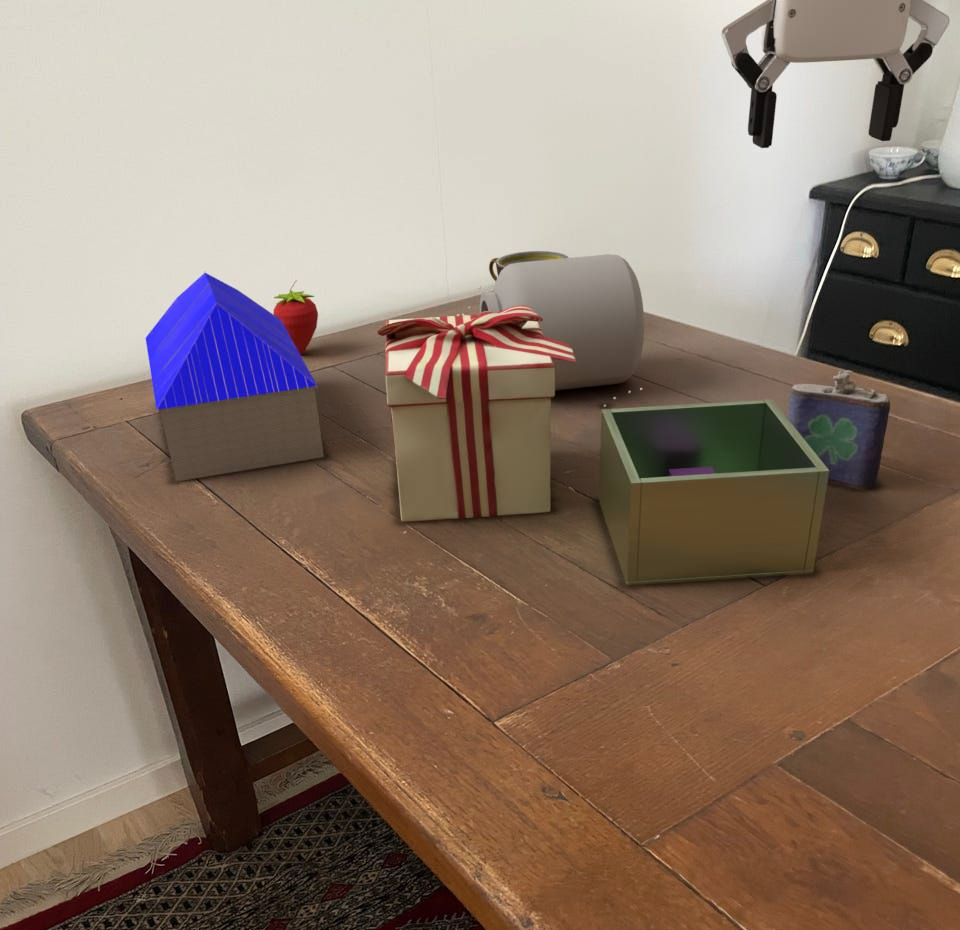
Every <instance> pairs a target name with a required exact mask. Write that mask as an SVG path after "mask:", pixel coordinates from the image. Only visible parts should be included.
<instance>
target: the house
mask: <svg viewBox="0 0 960 930" xmlns="http://www.w3.org/2000/svg"><path fill="white" fill-rule="evenodd" d="M273 314H274V313H272V312H270V311H269V310H268V309H266V308H264V307H263V306H262V305H260V304H259V303H257V302H256V301H254V300H253V299H252V298H250V297H249V296H247V295H246V294H244V293H243V292H242V291H240V290H239V289H237V288H235V287H233V286H231V285H229V284H228V283H226V282H224V281H221V279H218V278H216V277H214V276H212V275H210V274H208V273H207V272H204V273H202V274H201V276H199V277H198V278H197V279H196V280H194V282H193V283H192V284H190V285H189V286H188V287H187V288H186V289H185V290H184V291H183V292H182V293H180V294H179V295H177V297H176V298H175V299H174V300H173V302H172V303H171V304H170V306H169V307H168V308H167V310H166V311H165V312H164V313H163V315H162V316H161V317H160V318H159V320H158V321H157V322H156V323H155V325H154V326H153V328H151V330H150V332H149V333H148V334H147V335H146V337H145V344H146V351H147V356H148V363H149V369H150V378H151V383H152V390H153V397H154V402H155V408H156V413H157V414H159V412H160V416H161V421H162V426H163V430H164V434H165V439H166V443H167V448H168V452H169V456H170V460H171V461H170V462H171V465H172V470H173V474H174V479H175V482H182V481H188V480H194V479H195V480H196V479H201V478H207V477H212V476H218V475H223V474H230V473H237V472H243V471H248V470H253V469H254V470H255V469H259V468H266V467H267V468H268V467H272V466H279V465H284V464H290V463H295V462H302V461H308V460H314V459H321V458H325V454H324V448H323V441H322V433H321V426H320V420H319V412H318V405H317V404H318V403H317V397H316V391H315V390H318V384H317V383H316V381H315V379H314V377H313V375H312V373H311V372H310V370H309V368H308V366H307V365H306V363H305V361H304V359H303V358H302V357H303V356H302V355H300V354H299V352H298V350H297V348H296V346H295V345H294V343H293V341H292V339H291V337H290V335H289V334H288V332H287V330H286V328H285V326H284V325H283V323H282V321H281V320H280V319H279V318H278V317H276V316H275V315H273Z"/></svg>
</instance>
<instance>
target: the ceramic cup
mask: <svg viewBox="0 0 960 930" xmlns="http://www.w3.org/2000/svg"><path fill="white" fill-rule="evenodd" d="M563 258H571V257H570V256H569V255H567V254H564V253H561V252H555V251H547V250H529V251H519V252H512V253H508V254H505V255H502V256H500V257H494V258H492V259H491V260H490V261H489V265H488V271H489V274H490V276H491V278H492V279H493V281H494V282H496V280H497V278H498V276H499V274H500V272H501V270H503V269H504V268H505V267H506V266H507V265H509V264H513V263H519V262H530V261H541V260H552V259H563ZM494 265H495V267H496V273H497V275H496V273H495V271H494Z"/></svg>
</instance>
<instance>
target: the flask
mask: <svg viewBox="0 0 960 930" xmlns="http://www.w3.org/2000/svg"><path fill="white" fill-rule="evenodd" d="M851 374H853V371H852V370H843V371H841V370H839V371H838V374H837V375H833V377H832V378H833V381H834V384H835V385H834V386H831V385H830V386H829V385H822V384H814V383H797V384H795V385H793V386H792V387H791V388H790V391H789V403H788V412H787V416H786V417H787V419H788V420H789V421H790V422H791V424H792V425H793V426H794V427H795V428H796V430H797V431H798V432H799V433H800V435H801V436H802V437H803V438H804V440H805V441H806V442H807V443H808V445H809V446H810V447H811V448H812V450H813V451H814V452H815V453H816V455H817V456H818V457H819V458H820V460H821V461H822V462H823V463H824V465H825V466H826V467H827V468H828V470H829V476H828V482H827V483H832V484H837V485H841V486H845V487H849V488H853V489H856V490H864V491H866V490H867V491H868V490H872V489H874V488H875V487H876V484H877V481H878V476H879V472H880V468H881V467H880V466H881V461H882V454H883V450H884V443H885V436H886V432H887V428H888V421H889V414H890V410H891V402H890V398H889V397H888V395H886V394H884V393H878V392H877V391H876V390H875V389H872V388H866V390H865V389H864V388H862V387H858V385H857V384H856V383H855V381H851V380H850V379H849V378H850V375H851Z"/></svg>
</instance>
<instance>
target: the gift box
mask: <svg viewBox="0 0 960 930" xmlns="http://www.w3.org/2000/svg"><path fill="white" fill-rule="evenodd" d="M542 320H543V319H542V318H541V317H540V316H539V315H538V314H537V313H536V312H534V311H533V310H532V309H531V308H530V307H528V306H525V305H518V306H513V307H510V308H507V309H505V310H503V311H500V312H497V313H494V312H488V311H486V312H482V313H480V312H479V314H467V315H466V314H464V316H462V315H460V316H457V315H450V316H449V315H446V316H445V315H444V316H435V317H434V316H430V317H417V318H402V319H401V318H399V319H389V320H386V322H385V325H384V326H382V327H381V328H379V329H378V330H377V335H379V336H381V337H384V336H385V343H384V358H385V359H384V360H385V390H386V391H385V392H386V403H387V407H389V412H390V420H391V428H392V430H391V431H392V439H393V449H394V451H393V452H394V459H395V466H396V476H397V486H398V487H397V488H398V497H399V510H400V511H399V512H400V521H401V522H402V523H415V522H429V521H440V520H441V521H442V520H443V521H444V520H457V519H458V520H463V519H472V518H488V517H498V516H512V515H525V514H526V515H527V514H539V513H547V512H551V417H552V416H551V415H552V414H551V412H552V409H551V408H552V407H551V403H552V401H551V400H552V398H555V396H556V391H555V370H554V363H553V359H558V360H565V361H571V362H576V359H575V357H574V354H573V350H572V348H571V346H570V345H569V344H566V343H563V342H560V341H557V340H554V339H551V338H547V337H544V336H543V333H542V331H541V329H540V326H539V323H538V322H541V321H542Z"/></svg>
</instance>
